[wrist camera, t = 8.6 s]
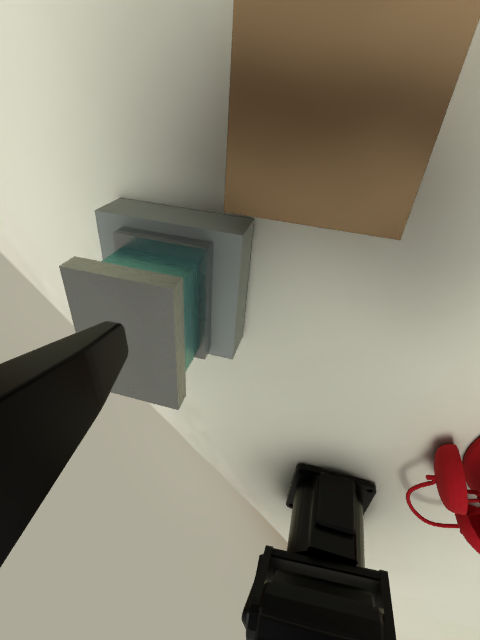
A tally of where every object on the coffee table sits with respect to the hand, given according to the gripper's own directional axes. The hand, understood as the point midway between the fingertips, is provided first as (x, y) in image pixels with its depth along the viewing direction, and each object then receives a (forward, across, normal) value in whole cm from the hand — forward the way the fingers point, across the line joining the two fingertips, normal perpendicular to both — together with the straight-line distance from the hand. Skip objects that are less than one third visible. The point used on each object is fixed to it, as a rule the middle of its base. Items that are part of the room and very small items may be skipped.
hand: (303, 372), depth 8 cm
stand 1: (+12, +8, +5) cm, 15 cm away
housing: (+10, +8, +5) cm, 13 cm away
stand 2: (+12, +1, -4) cm, 13 cm away
